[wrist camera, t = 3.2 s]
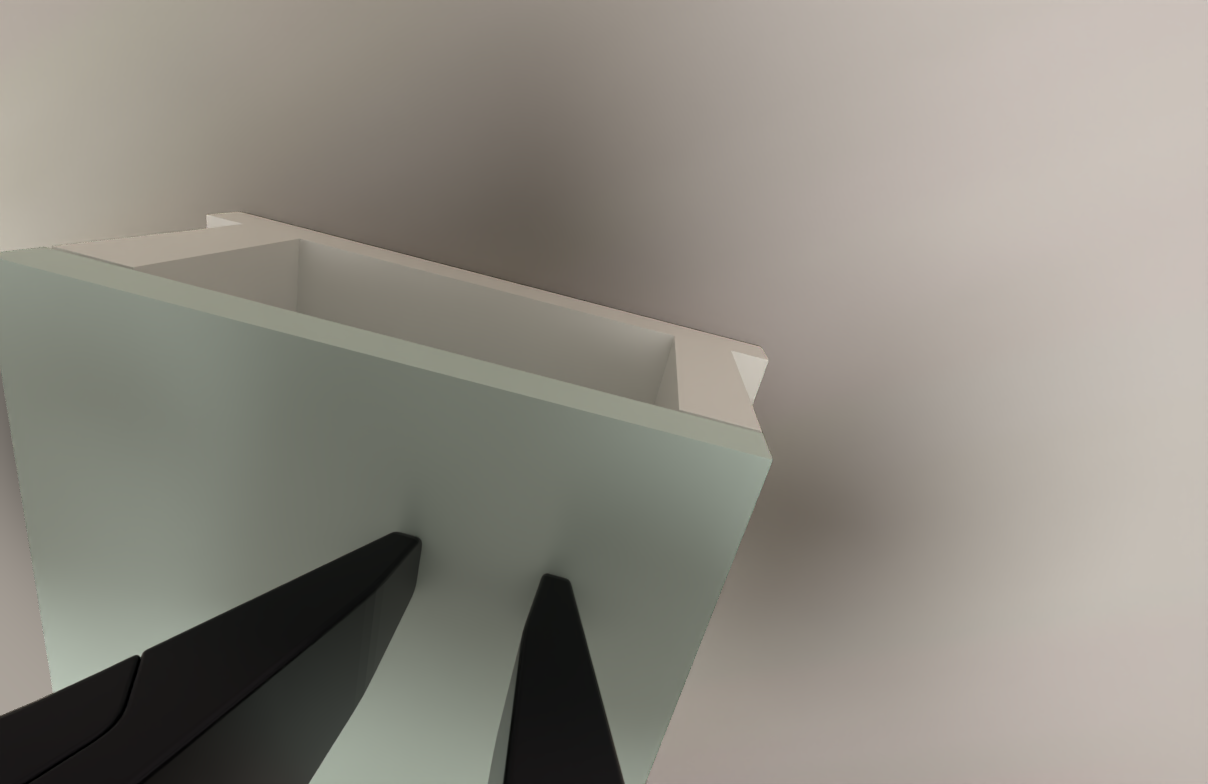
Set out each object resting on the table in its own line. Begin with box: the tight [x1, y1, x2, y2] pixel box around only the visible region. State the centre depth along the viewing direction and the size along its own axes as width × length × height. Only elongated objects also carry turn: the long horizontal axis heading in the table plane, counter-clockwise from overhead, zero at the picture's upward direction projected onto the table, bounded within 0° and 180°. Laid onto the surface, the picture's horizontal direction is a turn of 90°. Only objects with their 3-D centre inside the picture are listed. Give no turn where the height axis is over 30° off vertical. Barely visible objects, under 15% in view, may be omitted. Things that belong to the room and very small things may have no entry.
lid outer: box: [0, 247, 773, 784], centre depth 9 cm, size 9×10×1 cm
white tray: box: [52, 212, 769, 433], centre depth 14 cm, size 20×12×5 cm, turn 166°
